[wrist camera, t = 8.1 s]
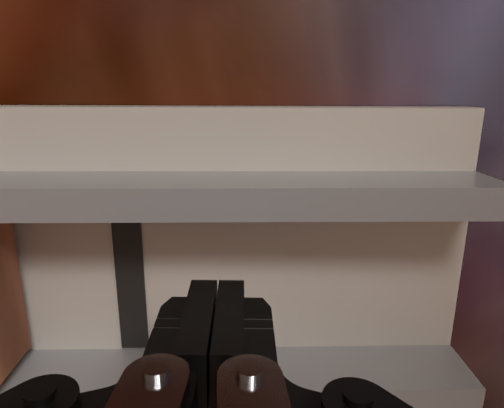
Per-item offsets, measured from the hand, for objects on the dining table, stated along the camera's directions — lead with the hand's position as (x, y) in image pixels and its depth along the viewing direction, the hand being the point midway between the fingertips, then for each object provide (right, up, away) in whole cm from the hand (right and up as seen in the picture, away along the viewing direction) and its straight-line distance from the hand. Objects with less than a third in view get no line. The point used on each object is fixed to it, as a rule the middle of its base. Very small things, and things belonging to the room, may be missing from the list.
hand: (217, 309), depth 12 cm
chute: (-4, +1, +4) cm, 6 cm away
